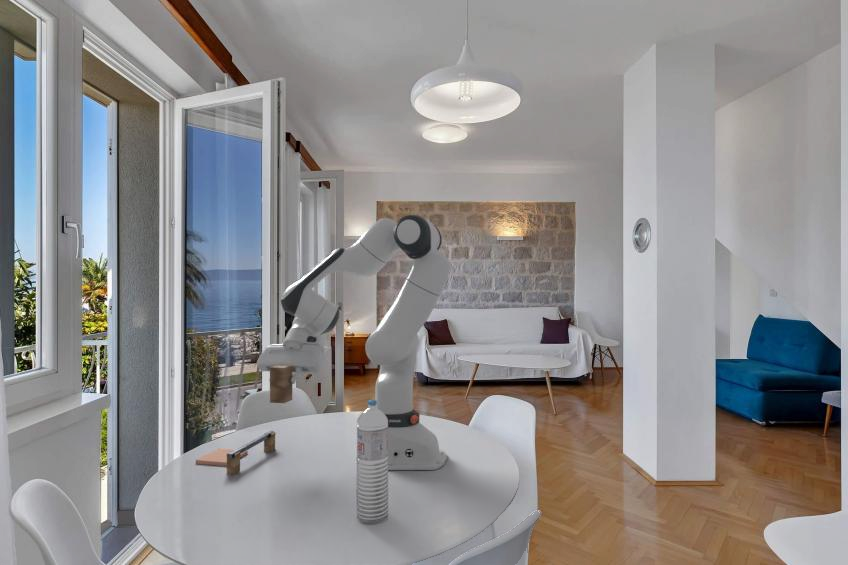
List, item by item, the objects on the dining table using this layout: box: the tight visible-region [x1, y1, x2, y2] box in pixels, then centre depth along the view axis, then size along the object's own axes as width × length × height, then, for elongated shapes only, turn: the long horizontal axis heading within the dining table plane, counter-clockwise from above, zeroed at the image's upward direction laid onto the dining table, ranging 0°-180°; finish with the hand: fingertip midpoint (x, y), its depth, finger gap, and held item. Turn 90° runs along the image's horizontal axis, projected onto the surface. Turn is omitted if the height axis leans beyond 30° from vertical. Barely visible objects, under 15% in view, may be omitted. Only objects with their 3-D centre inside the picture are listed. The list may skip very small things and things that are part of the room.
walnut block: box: [269, 365, 293, 404], centre depth 129 cm, size 4×4×10 cm
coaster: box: [195, 448, 248, 467], centre depth 132 cm, size 10×10×1 cm
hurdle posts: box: [226, 431, 276, 476], centre depth 130 cm, size 3×20×5 cm, turn 168°
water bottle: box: [356, 399, 389, 525], centre depth 97 cm, size 7×7×25 cm
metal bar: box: [228, 430, 275, 459], centre depth 130 cm, size 1×21×1 cm, turn 168°
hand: (281, 382), depth 129 cm, fingers closed on walnut block, 4 cm apart
